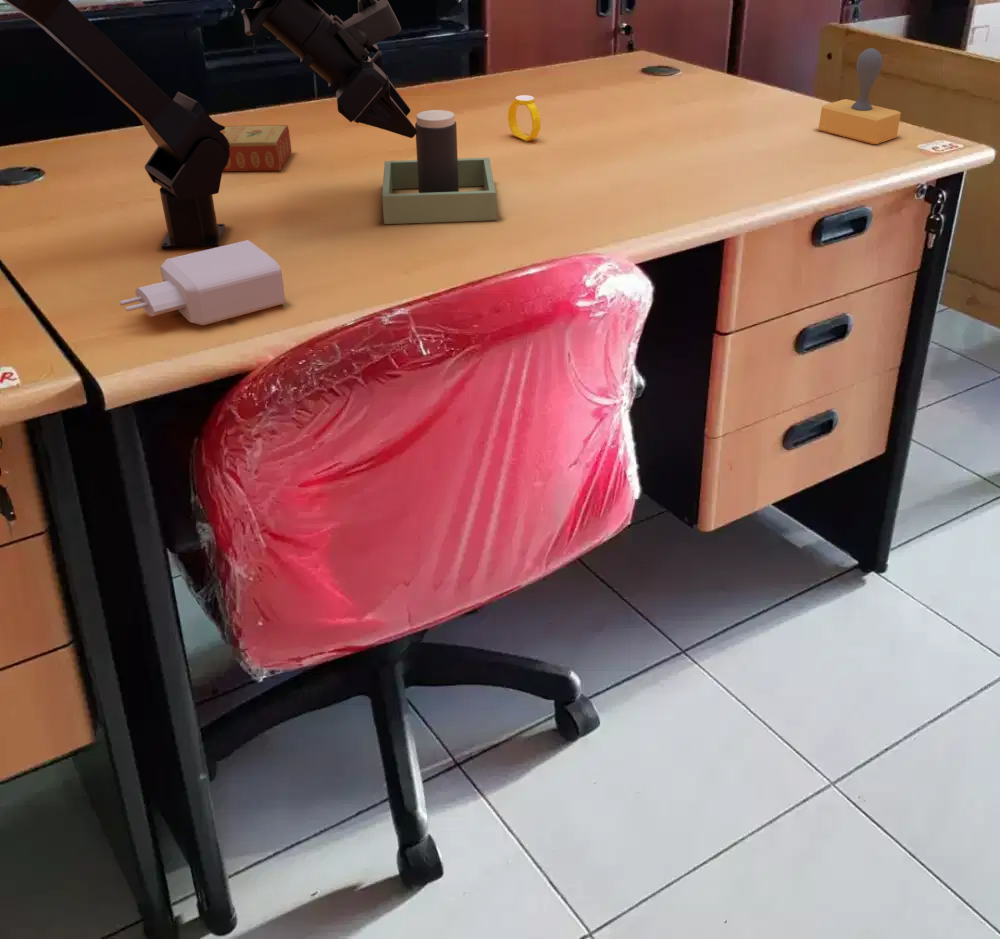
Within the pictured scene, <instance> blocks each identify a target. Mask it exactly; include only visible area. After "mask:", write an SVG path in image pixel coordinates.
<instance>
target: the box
mask: <svg viewBox="0 0 1000 939" xmlns="http://www.w3.org/2000/svg"><path fill="white" fill-rule="evenodd" d="M383 166H384V167H383V179H382V191H381V194H382V195H381V201H382V202H381V203H382V216H383V225H396V224H397V225H398V224H399V225H400V224H401V225H402V224H431V223H432V224H433V223H457V222H459V223H460V222H485V221H497V192H496V191H497V190H496V185H495V180H494V175H493V170H492V164H491V160H490V157H471V158H470V157H467V158H466V157H465V158H463V157H461V158H458V186H459V188H460V187H461V188H463V187H466V188H467V187H484V190H466V191H465V190H464V191H459V192H432V193H419V192H409V193H408V192H407V193H406V192H405V193H404V192H403V193H393V190H404V189H419V186H418V167H417V159H406V160H405V159H404V160H403V159H402V160H384V164H383Z"/></svg>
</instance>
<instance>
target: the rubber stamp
mask: <svg viewBox="0 0 1000 939" xmlns="http://www.w3.org/2000/svg"><path fill="white" fill-rule="evenodd" d="M882 66H883V56H882V54H881V52H880V51H879V50H878V49H877V48H872V47H870V48H866V49H865V50H863V51H862V52H861V53H860V54H859V55H858V57H857V60H856V68H855V70H856V77H857V82H858V86H859V96H858V98H857V100H852V99H848V98H847V99H846V98H844V99H841V100H837V101H834V102H830V103H827V104H823V105H821V109H820V115H819V116H820V117H819V123H818V129H817V130H818V131H820V132H824V133H828V134H831V135H835V136H840V137H844V138H847V139H851V140H854V141H855V140H856V141H859V142H862V143H866V144H871V145H878V144H881V143H884V142H886V141H889V140H893V139H896V138H897V137H898V132H899V127H900V121H901V115H902V112H900V111H899V110H896V109H890V108H886V107H882V106H877V105H873V104H871V102H870V101H869V95H870V92H871V89H872V87H873V86H874V83H875V82H876V80H877V78H878V77H879V76H880V75H879V74H880V72H881V71H882V68H883V67H882Z"/></svg>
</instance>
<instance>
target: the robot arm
mask: <svg viewBox="0 0 1000 939" xmlns="http://www.w3.org/2000/svg"><path fill="white" fill-rule="evenodd" d="M1 1H3V3H5V4H7V5H9V6H10V7H11V8H13V9H15V10H16V11H18V12H19V13H20V14H22V15H24V16H25V17H27V18H29V20H31V21H33V22H35V23H36V24H37V25H38V26H39V27H40V28H41V29H43V30H44V31H45V32H46V34H47V35H49V36H50V37H51V38H52V39H53V40H55V42H57V43H58V44H59V45H60V46H61V47H62V48H63V49H64V50H65V51H67V53H68V54H70V55H71V56H72V57H73V58H74V59H75V60H76V61H77V62H78V63H79V64H81V65H82V66H83V67H84V69H86V70H87V71H88V72H89V73H90V74H91V75H93V77H95V79H97V81H99V82H100V83H101V84H102V85H103V86H104V87H105V88H107V89H108V90H109V91H110V93H112V94H113V95H114V96H115V97H116V98H117V99H119V100H120V102H122V103H123V104H124V105H125V106H126V107H127V108H128V109H129V110H130V111H131V112H133V114H135V115H136V116H137V118H138V119H139V120H140V122H141V124H142V125H143V127H144V128H145V130H146V132H147V133H148V135H149V136H150V138H151V139H152V140H153V141H154V143H155V144H156V145H157V147H156V148H155V150H154V151H153V153H152V154H151V156H150V157H149V159H148V160H147V162H146V163H145V165H144V170H145V172H146V173H147V175H148V177H149V179H150V180H151V182H153V183H154V184H157V185H158V186H160V188H159V194H160V200H161V205H162V210H163V215H164V220H165V225H166V230H167V232H166V234H165V236H164V238H163V240H162V241H161V243H160V247H161V249H162V250H179V249H204V248H205V249H206V248H208V249H211V248H216V247H220V243H221V241H222V238H223V236H224V234H225V231H226V224H224V223H218V222H217V221H218V220H217V214H216V210H215V202H214V198H213V197H214V196H213V195H217V194H219V193H220V186H221V181H222V176H223V172H224V171H223V170H224V168H225V167H226V165H227V163H228V160H229V156H230V144H229V142H228V140H227V138H226V137H225V136H224V134H223V133H221V132H220V131H222V130H224V129H225V127H224V126H225V125H222V124H220V123H219V122H217V121H215V120H214V119H212V117H211V116H210V114H209V113H208V112H207V111H206V109H205V107H203V105H202V104H201V103H200V102H198V101H197V100H195V99H193V98H191V97H189V96H188V95H186V94H184V93H181V92H180V91H177V92H176V94H175V96H174V97H173V98H171V97H169V96H168V95H167V94H166V93H165V92H164V91H163V90H162V89H161V88H160V87H159V86H158V85H157V84H156V83H155V82H154V81H153V80H152V79H151V78H150V77H149V76H147V75H146V74H145V73H144V71H142V70H141V69H140V68H139V67H138V66H137V65H136V64H135V63H134V62H133V61H132V60H131V59H130V58H129V57H128V56H127V55H126V54H125V53H124V52H123V51H122V50H121V49H119V48H118V46H117V45H115V44H114V43H113V41H112V40H111V39H109V38H108V37H107V35H105V34H104V33H103V32H102V31H101V30H100V29H99V28H98V27H97V26H96V25H95V24H94V23H93V22H92V21H91V20H90V19H88V18H87V17H86V16H85V15H84V14H83V13H82V12H81V11H80V10H79V9H78V8H77V7H76V6H75V5H74V4H73V3H72V2H71V1H70V0H1ZM250 1H251V2H256V3H255V5H254V6H253V8H247V7H246V8H243V9H242V10H240V11H241V12H240V13H241V15H242V18H243V22H244V34H245V35H246V36H247V37H248V36H249V37H250V36H253V35H255V34H257V32H258V31H259V30H260V28H262V26H263V27H264V28H266V29H267V30H268V31H269V32H270V33H271V34H272V35H273V36H275V37H276V38H277V39H278V40H279V41H280V42H281V43H283V45H285V46H286V47H287V48H288V49H289V50H290V51H292V52H293V53H294V54H295V55H296V56H297V57H299V59H300V61H299V62H300V64H302V66H304V67H305V68H306V69H308V68H309V67H310V69H312V70H313V71H314V72H316V73H317V74H318V75H319V76H320V77H321V78H322V79H323V80H324V81H326V82H327V83H328V85H327V86H328V88H329V89H330V90H331V91H332V92H334V94H335V95H336V96H335V97H336V106H337V112H338V113H339V114H341V115H342V116H343V117H344V118H345V119H346V120H347V121H348V122H350V123H352V122H354V123H356V124H363V125H367V126H369V127H374V128H377V129H380V130H384V131H388V132H390V133H394V134H396V135H399V136H403V137H406V138H409V139H413V138H415V137H416V133H417V129H416V128H415V125H414V124H413V123H412V121H411V120H410V119H409V118H408V115H409V114H410V113H411V108H410V107H409V105H408V104H407V103H406V101H405V100H404V98H403V97H402V96H401V95H400V93H399V92H398V90H397V89H396V87H395V86H394V85H393V83H392V82H391V80H390V79H389V76H388V75H386V73H385V72H384V63H383V55H382V51H381V50H379V47H378V45H377V44H378V43H380V42H381V41H383V40H384V39H387V38H388V37H394V36H395V35H397V34H398V33H400V32H401V31H402V27H401V24H400V22H399V20H398V18H397V16H396V14H395V12H394V10H393V8H392V6H391V4H390V3H389V0H357V10H358V12H357V13H353V14H352V16H351V17H349V18H348V19H346V20H344V21H343V20H342V19H341V18H340V17H339V16H338V15H336V14H334V15H333V14H330V15H329V14H328V13H327V12H326V11H325V10H324V9H323V8H321V7H320V6H319V5H318V4H317V3H316V2H315V1H314V0H250ZM371 53H374V55H373V56H372V58H371V57H370V55H371Z"/></svg>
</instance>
